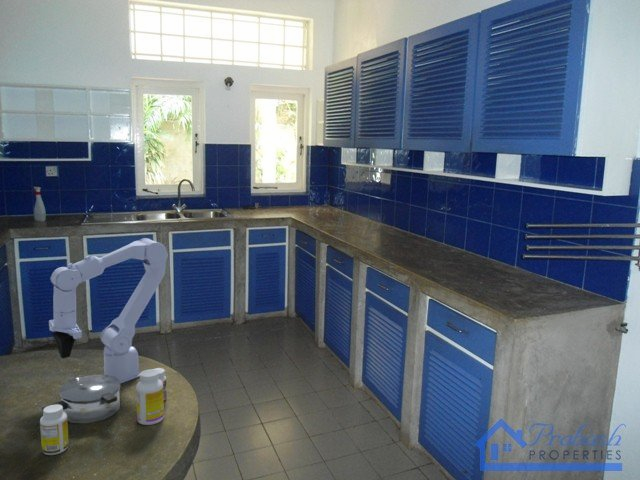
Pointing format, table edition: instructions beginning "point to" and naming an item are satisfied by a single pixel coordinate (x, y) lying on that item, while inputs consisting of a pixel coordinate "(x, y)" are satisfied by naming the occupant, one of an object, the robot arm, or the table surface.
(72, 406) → the cooker pot
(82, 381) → the cooker lid
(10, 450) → the table surface
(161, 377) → the pill bottle
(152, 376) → the supplement bottle
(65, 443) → the supplement bottle
